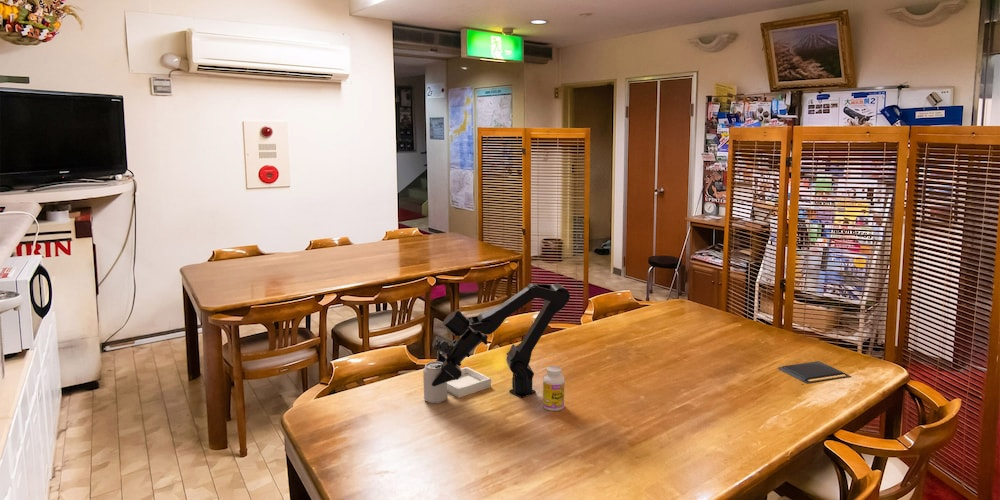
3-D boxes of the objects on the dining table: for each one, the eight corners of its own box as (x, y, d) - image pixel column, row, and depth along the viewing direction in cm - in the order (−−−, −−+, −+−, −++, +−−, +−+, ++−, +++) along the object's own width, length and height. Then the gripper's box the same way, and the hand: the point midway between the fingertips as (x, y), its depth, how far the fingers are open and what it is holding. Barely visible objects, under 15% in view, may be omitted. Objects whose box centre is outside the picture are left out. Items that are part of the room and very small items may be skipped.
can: (443, 405, 194) (442, 369, 192) (420, 403, 196) (419, 367, 193) (450, 395, 201) (449, 360, 199) (428, 393, 203) (427, 359, 200)
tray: (490, 386, 208) (490, 378, 207) (458, 397, 199) (458, 389, 199) (466, 374, 218) (466, 366, 218) (434, 384, 210) (434, 376, 209)
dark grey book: (820, 358, 229) (853, 374, 215) (820, 363, 229) (853, 379, 215) (775, 364, 224) (806, 380, 210) (774, 369, 224) (805, 385, 210)
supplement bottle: (550, 413, 188) (550, 374, 186) (538, 405, 194) (539, 366, 192) (568, 409, 191) (569, 370, 189) (556, 400, 197) (557, 363, 195)
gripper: (444, 319, 204) (411, 353, 204) (450, 338, 186) (414, 375, 186) (468, 341, 207) (435, 374, 207) (476, 361, 189) (440, 397, 189)
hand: (431, 379), depth 197 cm, fingers open, 9 cm apart
